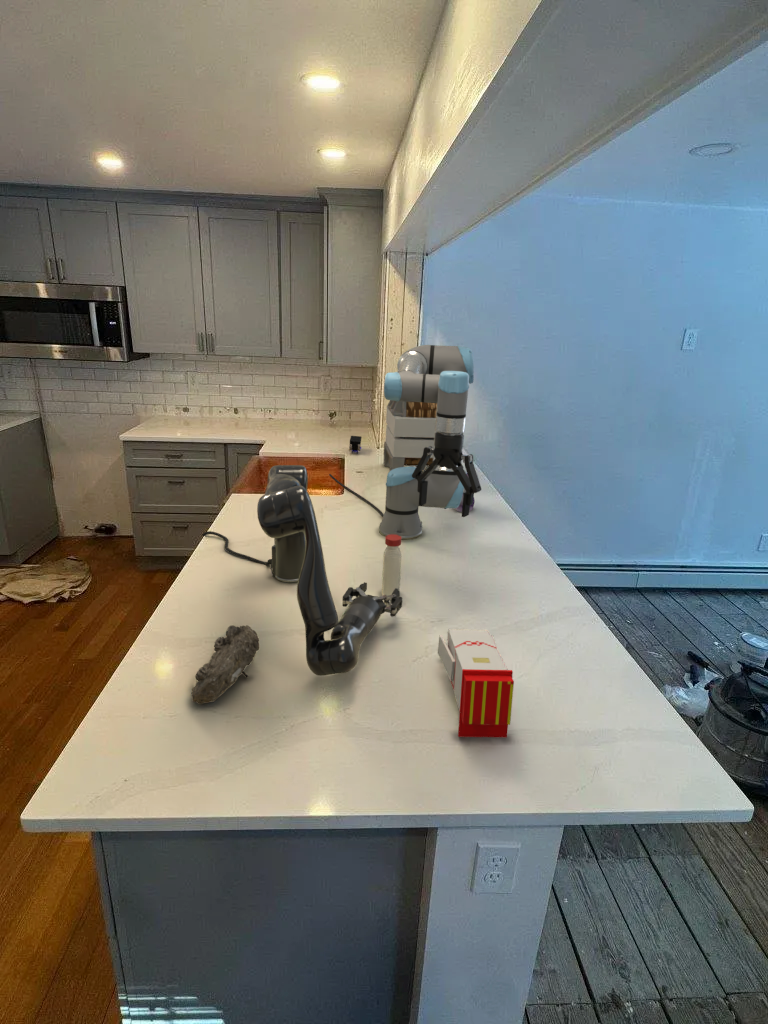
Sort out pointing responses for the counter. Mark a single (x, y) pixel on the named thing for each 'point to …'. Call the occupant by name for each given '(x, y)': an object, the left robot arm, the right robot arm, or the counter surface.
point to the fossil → (225, 663)
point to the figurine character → (355, 444)
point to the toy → (478, 682)
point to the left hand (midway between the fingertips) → (381, 588)
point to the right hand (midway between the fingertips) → (443, 510)
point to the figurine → (462, 503)
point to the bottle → (391, 570)
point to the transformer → (408, 432)
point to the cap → (393, 540)
